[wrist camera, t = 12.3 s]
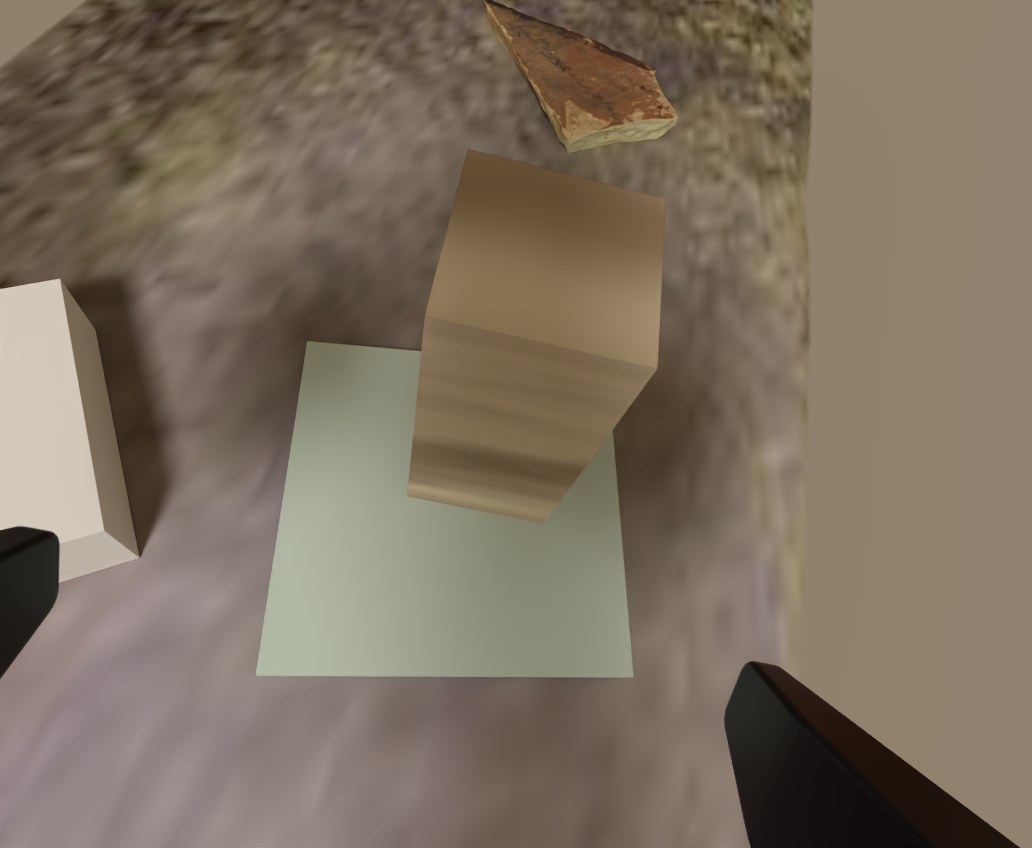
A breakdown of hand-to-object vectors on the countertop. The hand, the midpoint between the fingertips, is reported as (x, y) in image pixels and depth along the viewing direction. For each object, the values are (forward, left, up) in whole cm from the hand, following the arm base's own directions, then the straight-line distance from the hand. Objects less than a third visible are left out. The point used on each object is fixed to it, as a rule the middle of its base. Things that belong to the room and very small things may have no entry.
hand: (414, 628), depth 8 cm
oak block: (+9, -3, -13) cm, 16 cm away
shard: (+30, -7, -14) cm, 33 cm away
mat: (+7, -2, -14) cm, 15 cm away
